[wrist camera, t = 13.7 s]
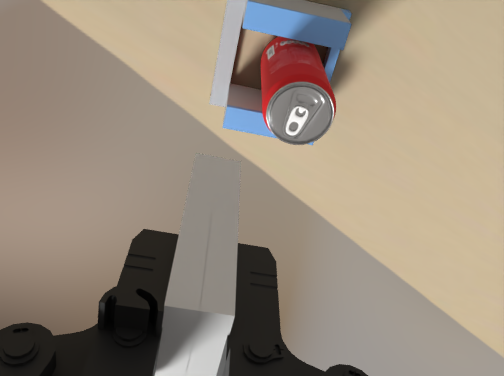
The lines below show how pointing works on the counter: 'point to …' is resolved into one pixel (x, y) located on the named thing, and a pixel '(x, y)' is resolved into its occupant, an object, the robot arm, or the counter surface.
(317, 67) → the beverage can
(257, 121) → the grey blue slotted rack
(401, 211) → the counter surface
